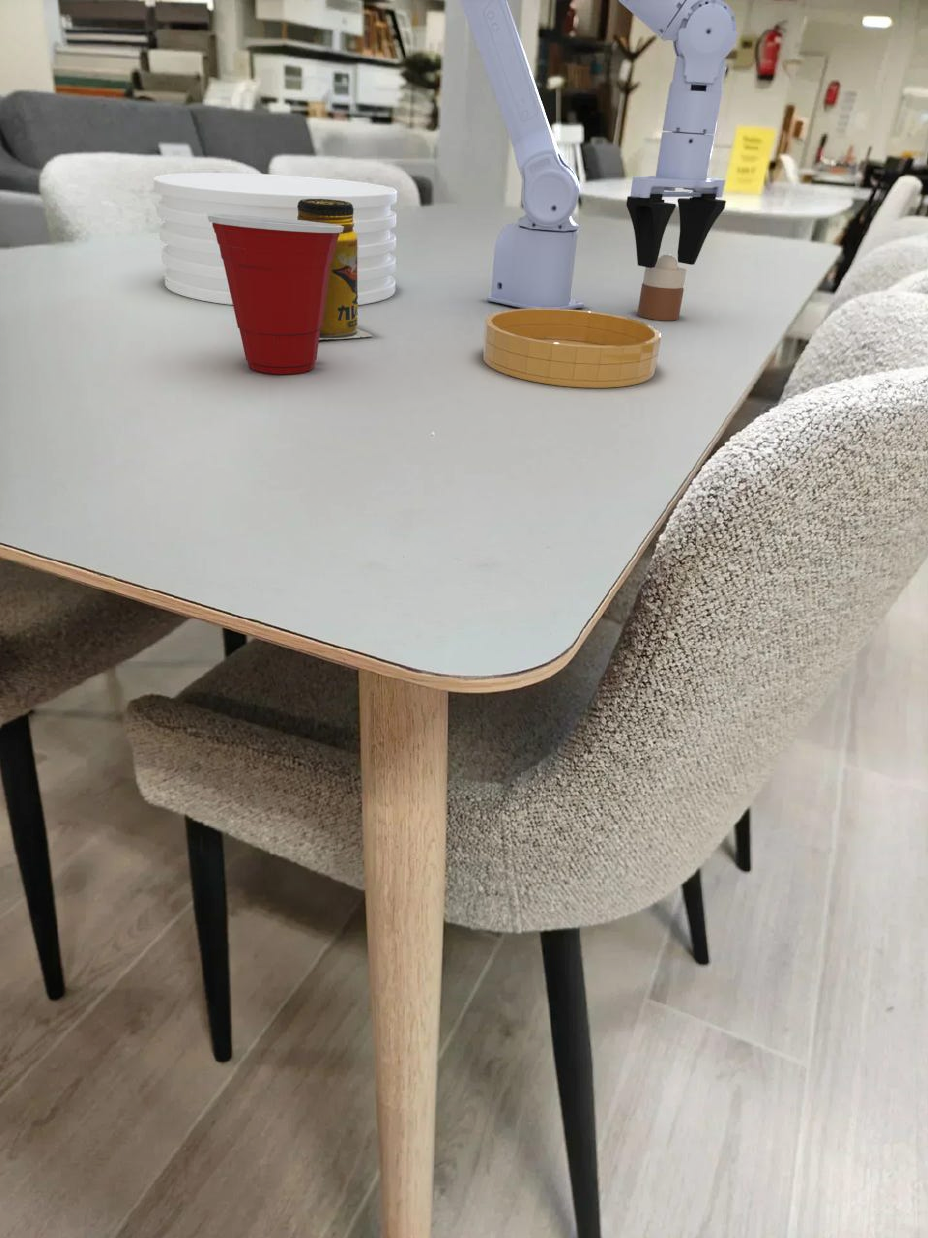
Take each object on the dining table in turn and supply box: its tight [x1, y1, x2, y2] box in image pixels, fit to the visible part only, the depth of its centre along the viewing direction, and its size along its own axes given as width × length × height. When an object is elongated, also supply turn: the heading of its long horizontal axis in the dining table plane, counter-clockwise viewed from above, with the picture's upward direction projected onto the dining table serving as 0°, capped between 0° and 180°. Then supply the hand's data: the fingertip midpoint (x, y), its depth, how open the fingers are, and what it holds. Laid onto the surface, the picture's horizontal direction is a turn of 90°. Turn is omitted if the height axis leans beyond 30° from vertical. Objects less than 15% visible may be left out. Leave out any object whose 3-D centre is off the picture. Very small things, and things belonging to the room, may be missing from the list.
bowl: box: [482, 308, 662, 389], centre depth 81 cm, size 16×16×4 cm
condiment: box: [297, 199, 373, 341], centre depth 84 cm, size 7×8×12 cm
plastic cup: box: [207, 214, 344, 375], centre depth 72 cm, size 11×11×12 cm
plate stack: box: [153, 172, 398, 306], centre depth 104 cm, size 28×28×12 cm
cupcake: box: [636, 254, 687, 322], centre depth 103 cm, size 5×5×7 cm
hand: (666, 264), depth 102 cm, fingers open, 7 cm apart
